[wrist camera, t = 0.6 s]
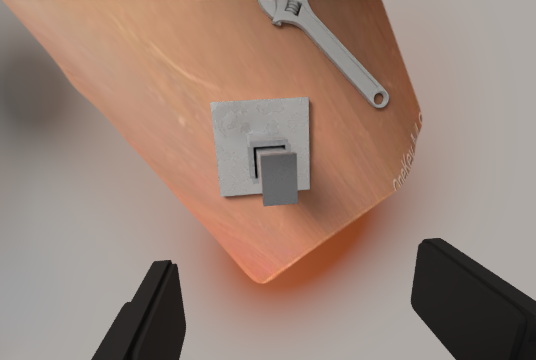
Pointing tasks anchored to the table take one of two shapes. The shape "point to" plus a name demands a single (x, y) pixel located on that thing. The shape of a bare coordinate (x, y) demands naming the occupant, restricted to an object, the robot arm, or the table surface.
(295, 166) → the column
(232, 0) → the table surface
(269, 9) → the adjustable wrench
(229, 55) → the table surface
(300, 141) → the stand base
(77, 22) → the table surface
